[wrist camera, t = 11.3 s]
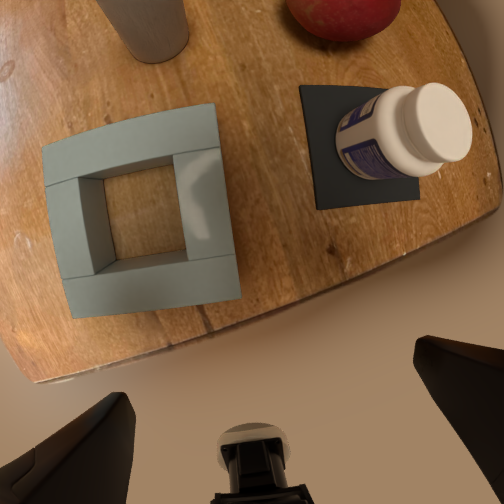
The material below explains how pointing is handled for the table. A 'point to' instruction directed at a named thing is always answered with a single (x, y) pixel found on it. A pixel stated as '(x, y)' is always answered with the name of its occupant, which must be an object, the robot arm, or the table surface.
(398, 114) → the pill bottle
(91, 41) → the table surface
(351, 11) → the apple
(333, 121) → the mat
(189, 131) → the stand
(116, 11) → the grey cylindrical tube
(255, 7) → the table surface
